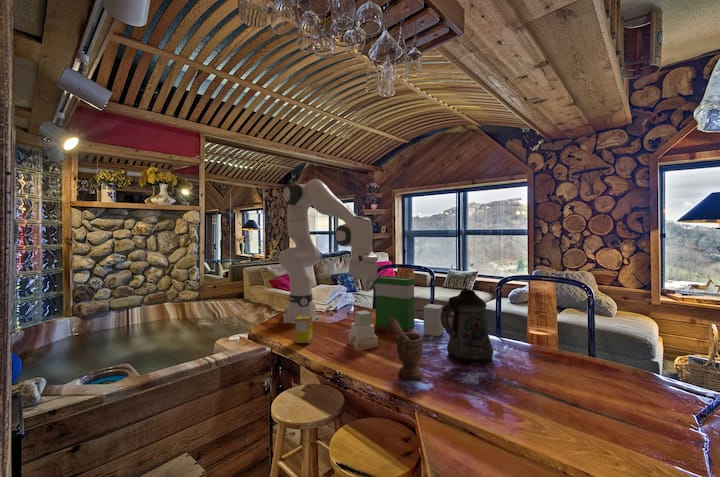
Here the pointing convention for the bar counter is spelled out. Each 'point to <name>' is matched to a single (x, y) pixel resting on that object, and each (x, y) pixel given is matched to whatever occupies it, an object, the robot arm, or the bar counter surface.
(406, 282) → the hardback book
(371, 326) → the tower top
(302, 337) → the supplement box
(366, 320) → the sage block
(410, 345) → the mortar and pestle
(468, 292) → the beer stein
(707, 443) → the bar counter surface
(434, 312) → the supplement box
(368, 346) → the tower base
